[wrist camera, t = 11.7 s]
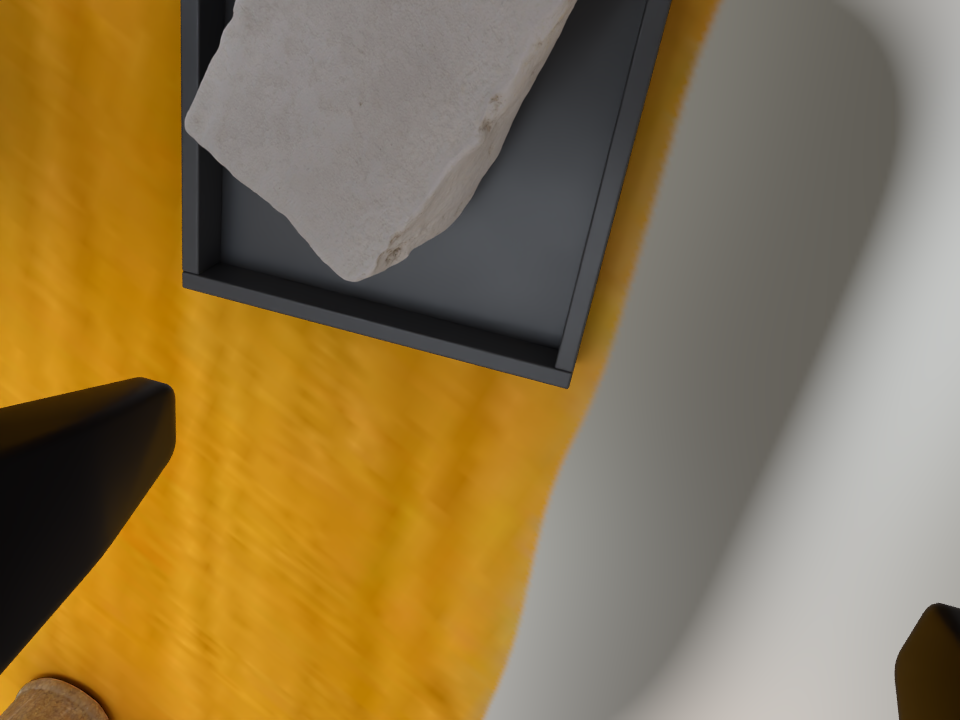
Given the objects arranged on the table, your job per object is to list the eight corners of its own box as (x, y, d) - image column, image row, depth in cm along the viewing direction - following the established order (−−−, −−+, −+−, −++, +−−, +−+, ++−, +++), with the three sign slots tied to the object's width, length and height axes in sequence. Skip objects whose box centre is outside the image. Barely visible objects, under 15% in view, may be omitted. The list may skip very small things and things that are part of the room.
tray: (575, 363, 21) (568, 390, 20) (212, 270, 22) (181, 287, 21) (759, -330, 14) (769, -367, 13) (220, -408, 16) (176, -449, 14)
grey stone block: (490, -154, 19) (416, -369, 13) (682, -2, 18) (690, -164, 12) (247, 156, 21) (90, 83, 15) (409, 312, 20) (306, 297, 14)
